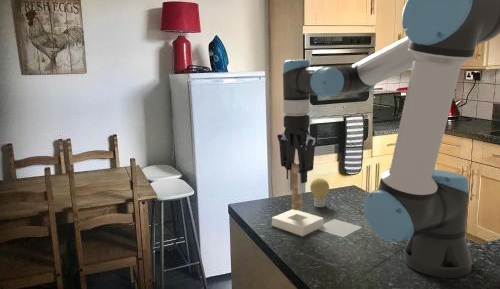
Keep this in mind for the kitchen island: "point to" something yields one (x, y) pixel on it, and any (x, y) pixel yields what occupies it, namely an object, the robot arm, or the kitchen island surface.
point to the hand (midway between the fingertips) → (296, 191)
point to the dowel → (295, 187)
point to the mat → (339, 228)
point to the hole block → (297, 222)
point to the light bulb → (319, 191)
